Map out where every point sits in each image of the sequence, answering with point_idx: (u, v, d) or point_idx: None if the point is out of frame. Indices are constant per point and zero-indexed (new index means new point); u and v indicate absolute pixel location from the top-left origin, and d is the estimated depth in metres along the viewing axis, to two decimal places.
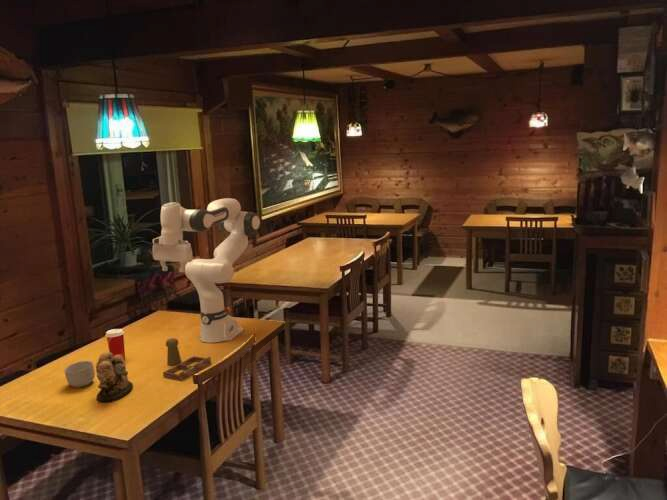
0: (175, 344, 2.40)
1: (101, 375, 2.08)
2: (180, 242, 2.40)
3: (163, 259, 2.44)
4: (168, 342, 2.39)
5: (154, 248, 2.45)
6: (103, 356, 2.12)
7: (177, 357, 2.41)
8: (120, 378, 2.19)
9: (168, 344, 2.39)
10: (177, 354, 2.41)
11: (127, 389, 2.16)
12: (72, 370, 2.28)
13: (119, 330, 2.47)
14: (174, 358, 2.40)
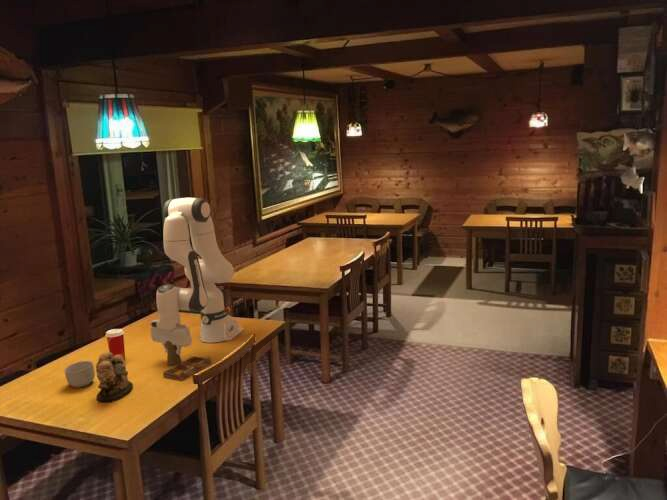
0: None
1: (101, 375, 2.08)
2: (178, 326, 2.37)
3: (162, 341, 2.42)
4: (168, 342, 2.39)
5: (152, 330, 2.42)
6: (103, 356, 2.12)
7: (177, 357, 2.41)
8: (120, 378, 2.19)
9: (168, 344, 2.39)
10: (177, 354, 2.41)
11: (127, 389, 2.16)
12: (72, 370, 2.28)
13: (119, 330, 2.47)
14: (174, 358, 2.40)
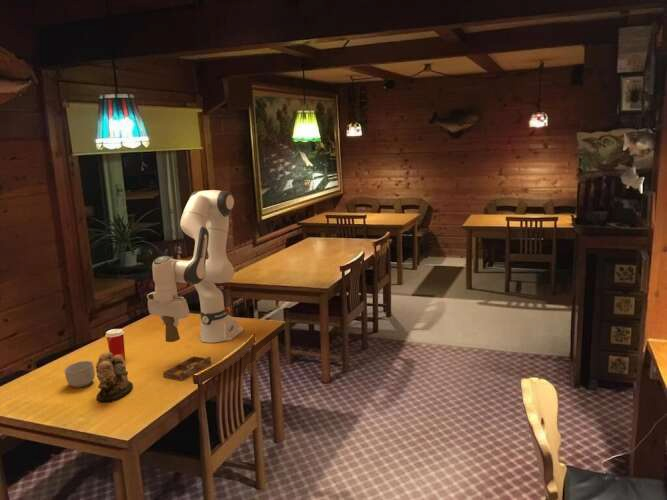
0: (173, 320, 2.38)
1: (101, 375, 2.08)
2: (175, 298, 2.35)
3: (159, 314, 2.39)
4: (166, 318, 2.37)
5: (149, 303, 2.40)
6: (103, 356, 2.12)
7: (175, 333, 2.40)
8: (120, 378, 2.19)
9: (166, 320, 2.37)
10: (175, 330, 2.40)
11: (127, 389, 2.16)
12: (72, 370, 2.28)
13: (119, 330, 2.47)
14: (172, 334, 2.39)
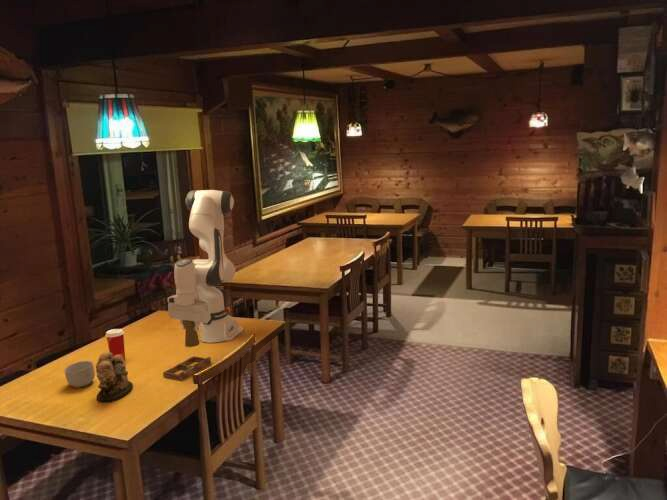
0: (193, 324, 2.33)
1: (101, 375, 2.08)
2: (196, 301, 2.30)
3: (180, 318, 2.35)
4: (186, 322, 2.33)
5: (169, 307, 2.35)
6: (103, 356, 2.12)
7: (195, 338, 2.35)
8: (120, 378, 2.19)
9: (186, 324, 2.33)
10: (195, 335, 2.35)
11: (127, 389, 2.16)
12: (72, 370, 2.28)
13: (119, 330, 2.47)
14: (192, 339, 2.34)
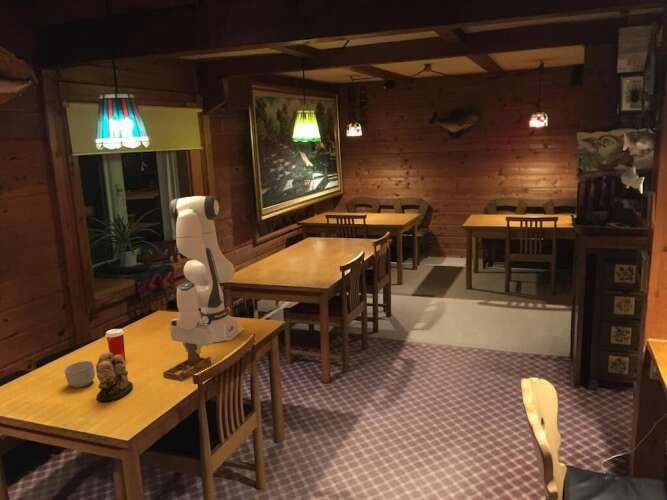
0: (195, 347, 2.35)
1: (101, 375, 2.08)
2: (199, 325, 2.32)
3: (182, 341, 2.37)
4: (188, 345, 2.35)
5: (172, 329, 2.37)
6: (103, 356, 2.12)
7: (197, 360, 2.37)
8: (120, 378, 2.19)
9: (188, 347, 2.35)
10: (198, 357, 2.37)
11: (127, 389, 2.16)
12: (72, 370, 2.28)
13: (119, 330, 2.47)
14: (194, 361, 2.36)
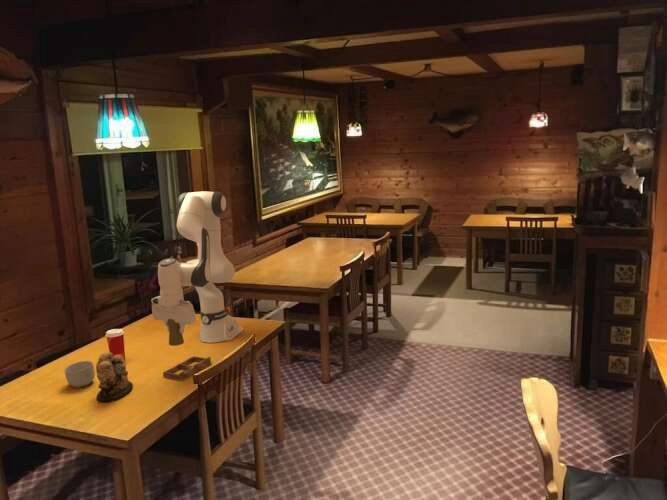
0: None
1: (101, 375, 2.08)
2: (181, 302, 2.22)
3: (164, 319, 2.27)
4: (170, 320, 2.24)
5: (154, 308, 2.27)
6: (103, 356, 2.12)
7: (179, 336, 2.26)
8: (120, 378, 2.19)
9: (170, 322, 2.24)
10: (179, 333, 2.26)
11: (127, 389, 2.16)
12: (72, 370, 2.28)
13: (119, 330, 2.47)
14: (176, 337, 2.25)
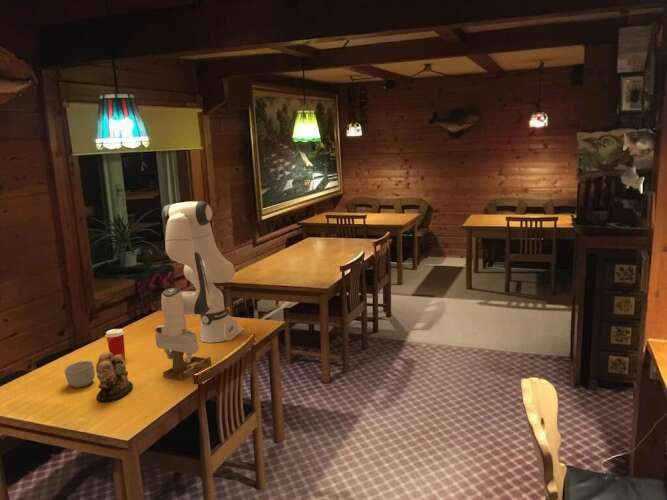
0: (180, 354, 2.28)
1: (101, 375, 2.08)
2: (184, 332, 2.25)
3: (167, 348, 2.29)
4: (173, 352, 2.27)
5: (157, 336, 2.30)
6: (103, 356, 2.12)
7: (183, 368, 2.29)
8: (120, 378, 2.19)
9: (173, 354, 2.27)
10: (183, 365, 2.29)
11: (127, 389, 2.16)
12: (72, 370, 2.28)
13: (119, 330, 2.47)
14: (179, 369, 2.28)
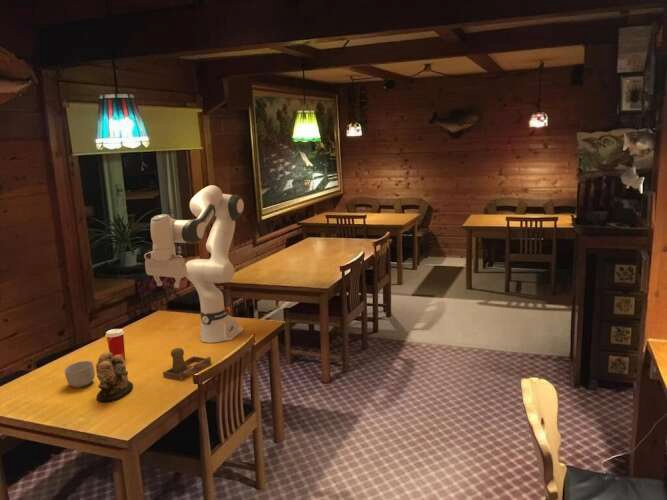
0: (180, 354, 2.28)
1: (101, 375, 2.08)
2: (173, 257, 2.28)
3: (157, 274, 2.33)
4: (173, 352, 2.27)
5: (146, 263, 2.33)
6: (103, 356, 2.12)
7: (183, 368, 2.29)
8: (120, 378, 2.19)
9: (173, 354, 2.27)
10: (183, 365, 2.29)
11: (127, 389, 2.16)
12: (72, 370, 2.28)
13: (119, 330, 2.47)
14: (179, 369, 2.28)
